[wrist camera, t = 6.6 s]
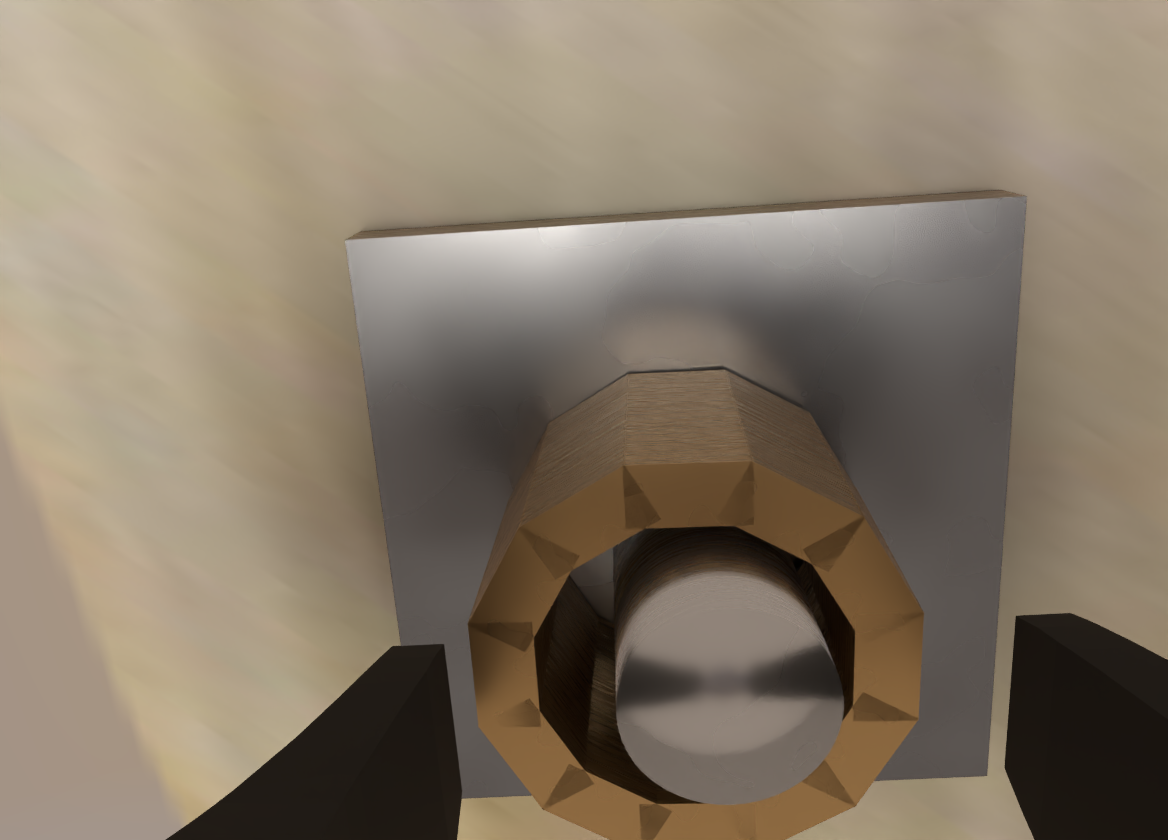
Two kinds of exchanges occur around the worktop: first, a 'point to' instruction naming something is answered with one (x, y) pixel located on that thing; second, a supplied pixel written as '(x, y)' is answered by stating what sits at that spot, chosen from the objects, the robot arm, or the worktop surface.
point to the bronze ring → (672, 500)
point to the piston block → (720, 553)
